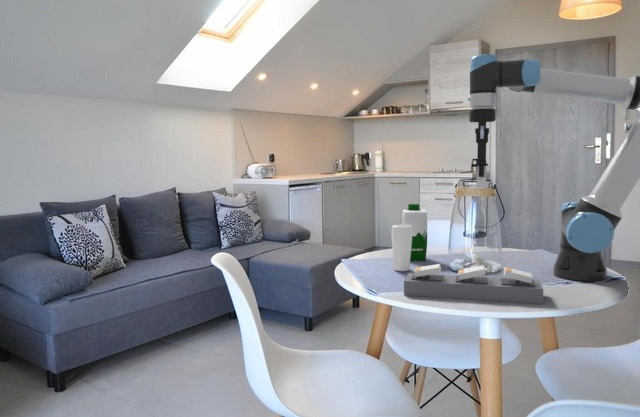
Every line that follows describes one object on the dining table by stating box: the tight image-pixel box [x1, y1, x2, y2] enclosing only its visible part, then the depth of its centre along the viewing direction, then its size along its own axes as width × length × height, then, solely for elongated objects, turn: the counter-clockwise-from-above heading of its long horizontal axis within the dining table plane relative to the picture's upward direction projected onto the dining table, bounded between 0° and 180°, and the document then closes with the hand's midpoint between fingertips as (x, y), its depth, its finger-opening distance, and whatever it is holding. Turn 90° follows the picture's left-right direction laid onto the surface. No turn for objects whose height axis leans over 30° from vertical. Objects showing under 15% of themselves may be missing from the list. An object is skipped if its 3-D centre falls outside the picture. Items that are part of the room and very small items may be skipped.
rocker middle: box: [457, 265, 486, 280], centre depth 148 cm, size 7×5×2 cm
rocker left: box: [413, 263, 442, 277], centre depth 152 cm, size 7×5×2 cm
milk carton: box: [402, 203, 428, 262], centre depth 195 cm, size 9×9×20 cm
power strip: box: [403, 272, 544, 305], centre depth 149 cm, size 36×10×5 cm, turn 73°
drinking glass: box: [391, 224, 412, 272], centre depth 178 cm, size 7×7×15 cm
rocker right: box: [503, 266, 534, 283], centre depth 145 cm, size 7×5×2 cm
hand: (481, 187), depth 162 cm, fingers closed
